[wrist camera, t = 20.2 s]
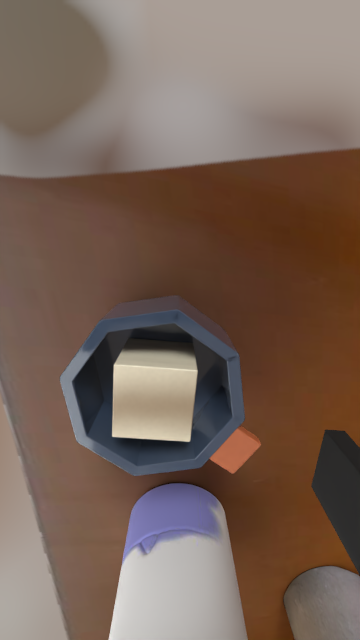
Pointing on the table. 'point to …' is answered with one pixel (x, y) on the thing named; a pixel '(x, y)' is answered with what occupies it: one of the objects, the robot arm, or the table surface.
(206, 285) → the table surface
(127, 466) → the bowl
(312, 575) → the pillar candle
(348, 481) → the robot arm
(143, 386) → the block
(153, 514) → the container
